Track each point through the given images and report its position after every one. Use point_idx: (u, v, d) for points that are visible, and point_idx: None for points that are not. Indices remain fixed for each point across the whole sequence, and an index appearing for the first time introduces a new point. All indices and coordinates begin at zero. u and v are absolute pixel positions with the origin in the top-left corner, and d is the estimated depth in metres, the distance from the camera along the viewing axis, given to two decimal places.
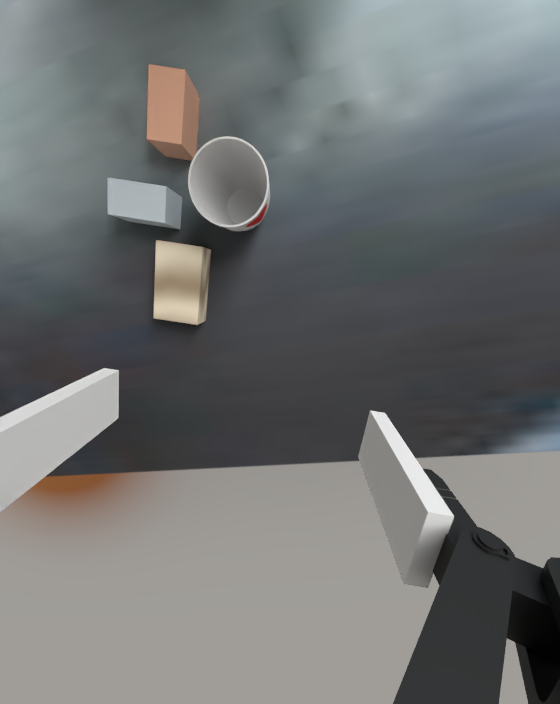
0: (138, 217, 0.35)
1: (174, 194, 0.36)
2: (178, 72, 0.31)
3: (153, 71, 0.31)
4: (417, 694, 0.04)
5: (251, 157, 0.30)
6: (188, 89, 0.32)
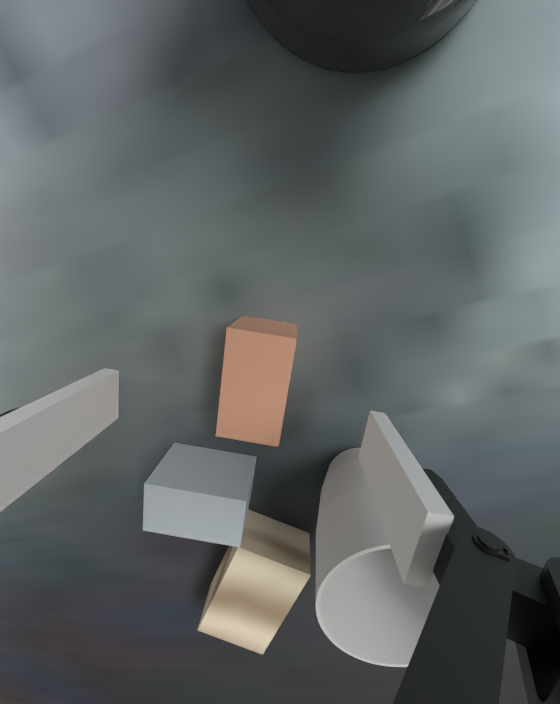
0: (195, 537, 0.20)
1: (251, 480, 0.22)
2: (282, 342, 0.16)
3: (235, 339, 0.16)
4: (417, 694, 0.04)
5: None
6: None
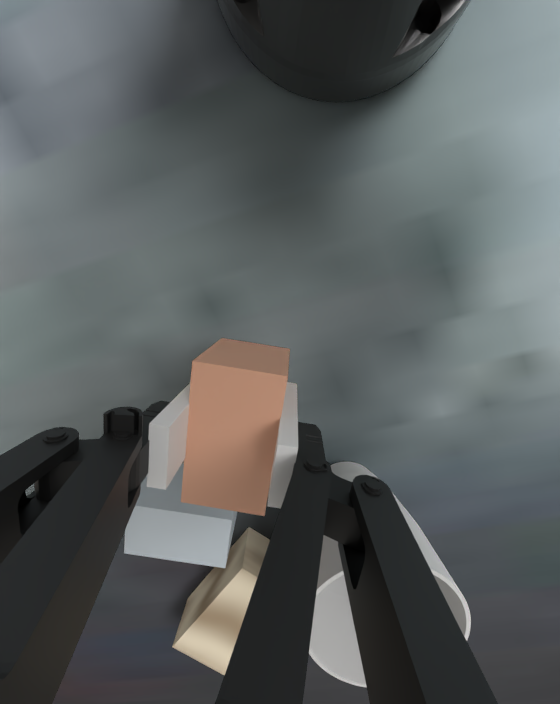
0: (179, 559, 0.20)
1: None
2: (268, 380, 0.12)
3: (204, 376, 0.12)
4: (263, 597, 0.06)
5: None
6: None
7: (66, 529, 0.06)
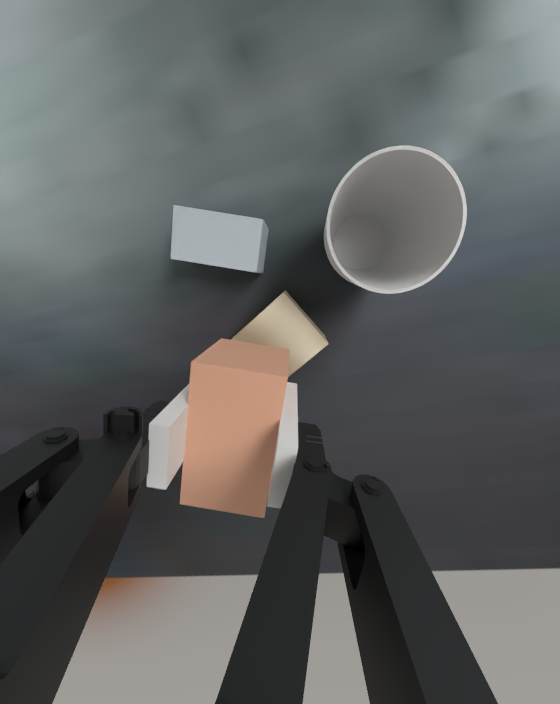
0: (217, 264, 0.23)
1: (265, 227, 0.24)
2: (268, 381, 0.12)
3: (203, 377, 0.12)
4: (263, 597, 0.06)
5: (419, 178, 0.19)
6: None
7: (66, 529, 0.06)
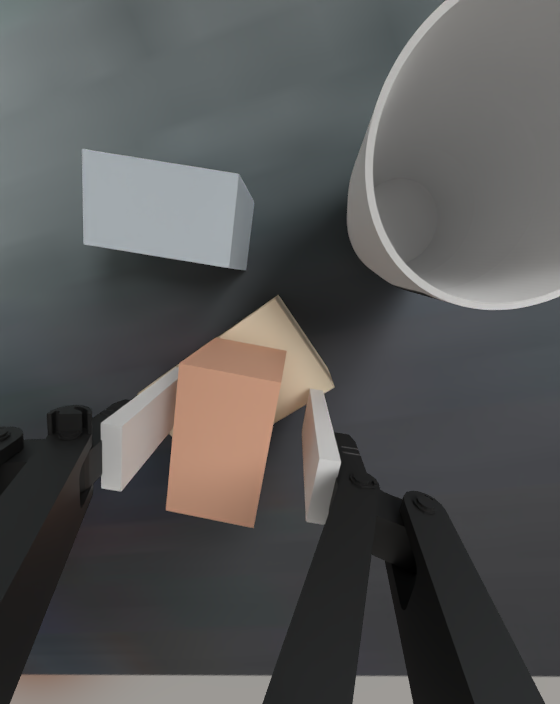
0: (161, 253, 0.14)
1: (247, 195, 0.15)
2: (260, 386, 0.11)
3: (191, 380, 0.11)
4: (307, 615, 0.05)
5: (552, 71, 0.09)
6: None
7: (13, 532, 0.06)
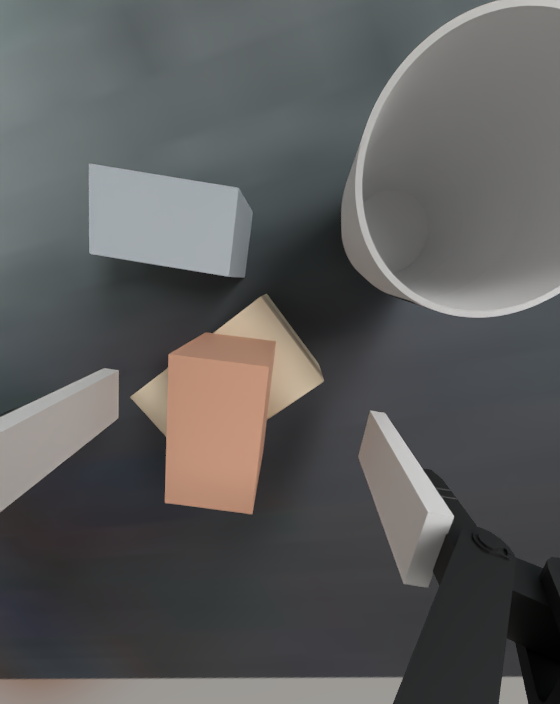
0: (164, 262, 0.14)
1: (246, 206, 0.16)
2: (249, 372, 0.11)
3: (181, 370, 0.12)
4: (417, 694, 0.04)
5: (528, 97, 0.10)
6: (268, 385, 0.13)
7: None
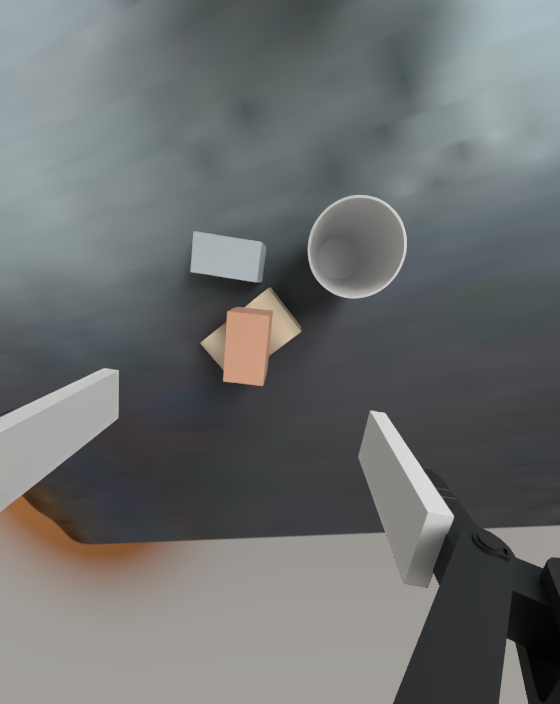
0: (226, 276, 0.30)
1: (264, 247, 0.31)
2: (261, 318, 0.27)
3: (232, 318, 0.27)
4: (417, 694, 0.04)
5: (376, 214, 0.25)
6: (269, 326, 0.28)
7: None
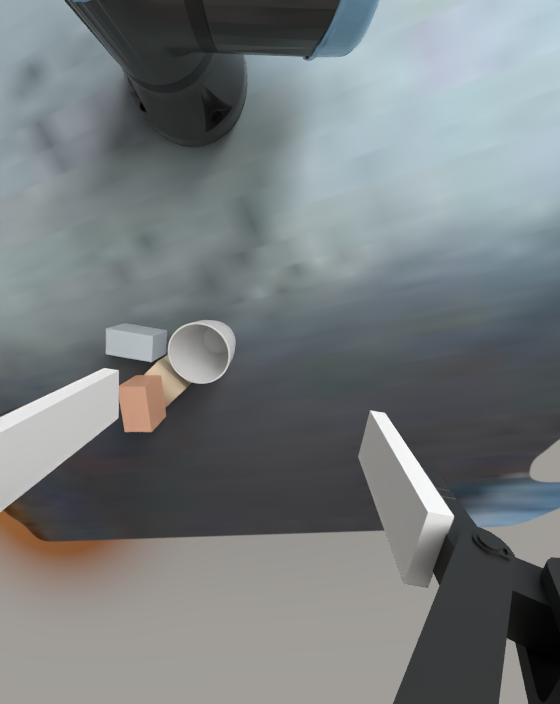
0: (130, 357, 0.43)
1: (160, 334, 0.44)
2: (140, 389, 0.40)
3: (121, 390, 0.40)
4: (417, 694, 0.04)
5: None
6: (150, 391, 0.41)
7: None
